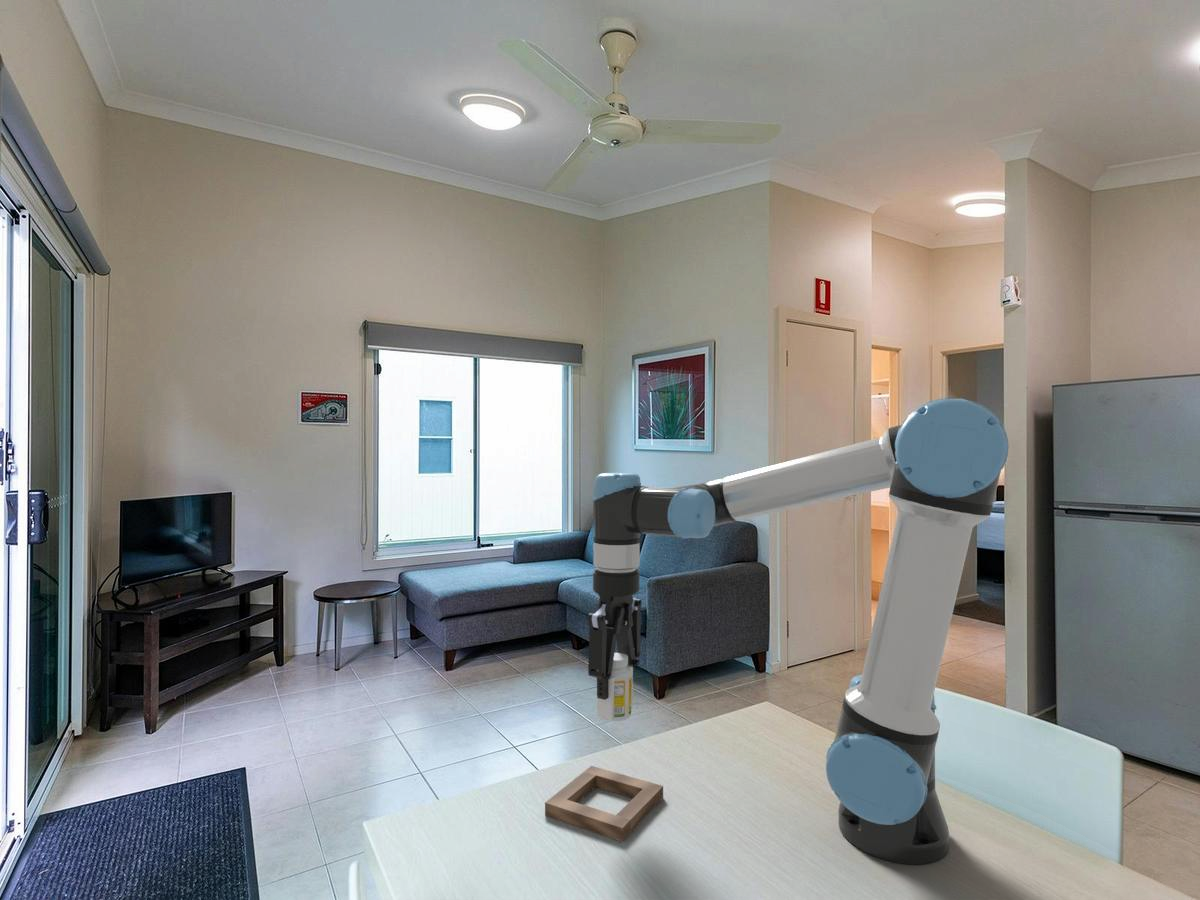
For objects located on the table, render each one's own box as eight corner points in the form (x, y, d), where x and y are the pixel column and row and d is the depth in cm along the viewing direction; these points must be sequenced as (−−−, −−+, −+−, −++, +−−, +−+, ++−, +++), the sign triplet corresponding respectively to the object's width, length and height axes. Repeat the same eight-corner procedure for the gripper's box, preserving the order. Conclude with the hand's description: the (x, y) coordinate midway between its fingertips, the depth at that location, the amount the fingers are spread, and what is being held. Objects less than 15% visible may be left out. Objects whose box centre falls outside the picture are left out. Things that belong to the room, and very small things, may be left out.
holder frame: (663, 797, 110) (663, 785, 110) (622, 841, 98) (622, 828, 98) (591, 776, 117) (591, 765, 117) (545, 815, 105) (545, 802, 105)
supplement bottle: (614, 725, 104) (614, 664, 104) (591, 714, 108) (592, 655, 108) (638, 715, 107) (638, 656, 107) (615, 705, 111) (616, 649, 111)
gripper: (624, 557, 117) (623, 688, 117) (564, 575, 101) (563, 725, 102) (662, 561, 113) (661, 697, 113) (606, 580, 97) (605, 737, 98)
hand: (615, 710), depth 107 cm, fingers closed on supplement bottle, 5 cm apart
